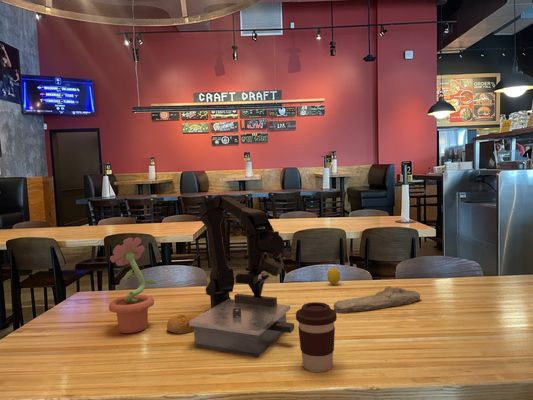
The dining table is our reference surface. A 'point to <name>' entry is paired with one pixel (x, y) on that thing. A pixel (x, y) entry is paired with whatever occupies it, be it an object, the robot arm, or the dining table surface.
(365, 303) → the elongated rock
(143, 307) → the decorative flower
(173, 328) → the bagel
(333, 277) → the lemon
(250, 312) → the lid
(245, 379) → the dining table surface
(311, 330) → the coffee cup
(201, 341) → the grey metal box
